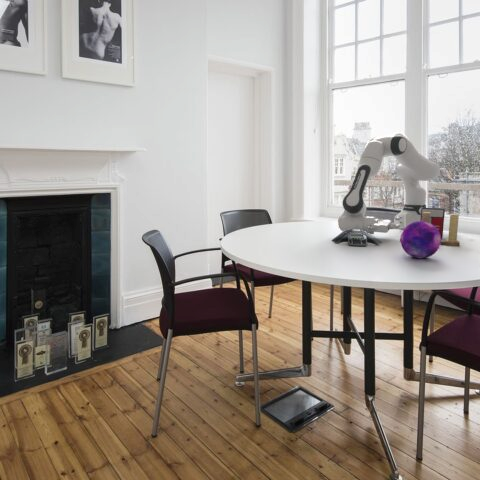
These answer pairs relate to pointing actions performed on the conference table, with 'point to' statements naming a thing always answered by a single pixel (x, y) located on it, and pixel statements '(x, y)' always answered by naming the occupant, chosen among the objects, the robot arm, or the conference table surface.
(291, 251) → the conference table surface
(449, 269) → the conference table surface
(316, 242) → the conference table surface
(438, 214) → the red and grey box
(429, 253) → the decorative orb
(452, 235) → the fixed leg
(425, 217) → the sliding leg
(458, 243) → the rail
